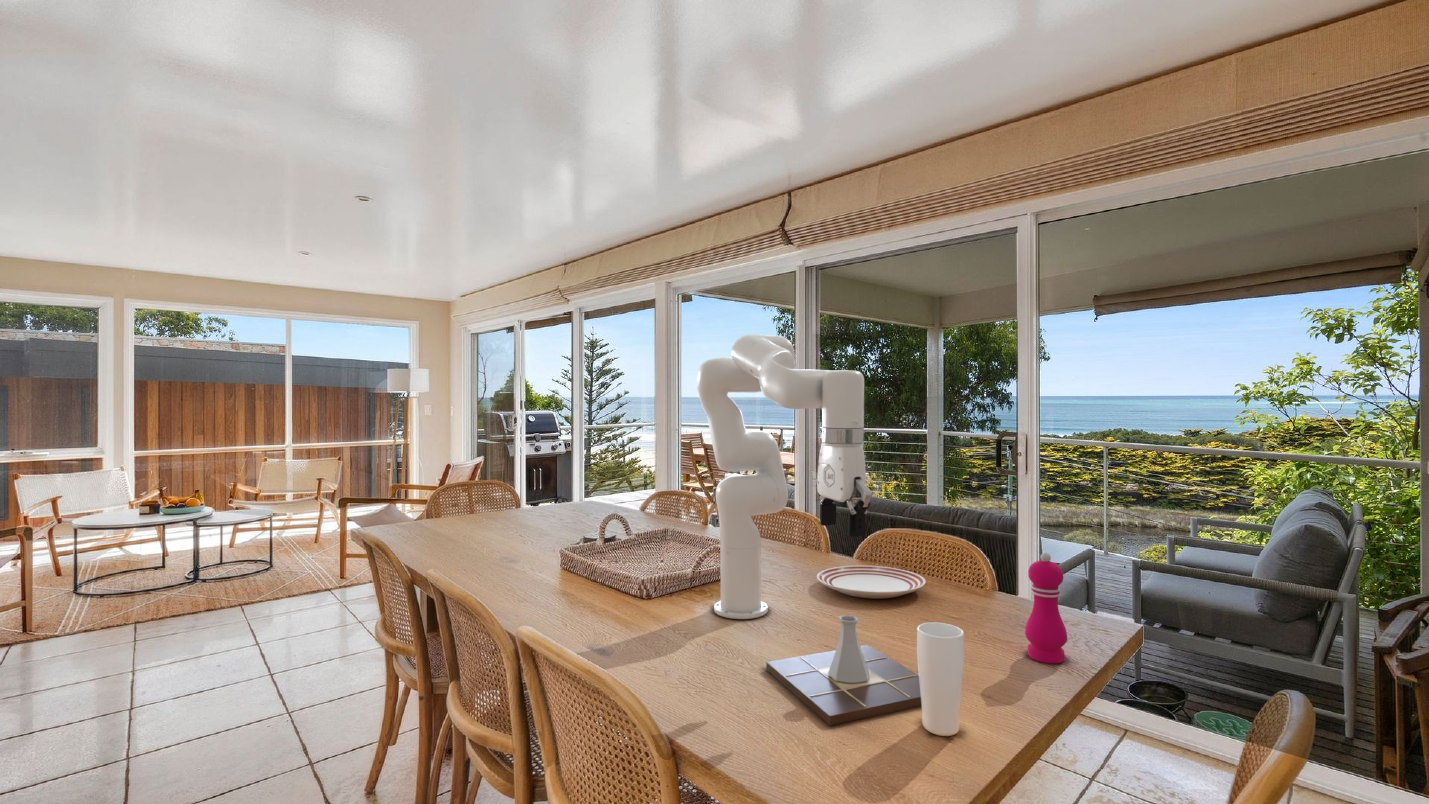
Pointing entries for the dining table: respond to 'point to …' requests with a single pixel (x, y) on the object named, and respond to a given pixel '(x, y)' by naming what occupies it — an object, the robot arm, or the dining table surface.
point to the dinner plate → (871, 581)
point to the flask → (848, 654)
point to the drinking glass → (940, 676)
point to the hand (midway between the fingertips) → (841, 530)
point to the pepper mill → (1045, 613)
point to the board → (848, 686)
